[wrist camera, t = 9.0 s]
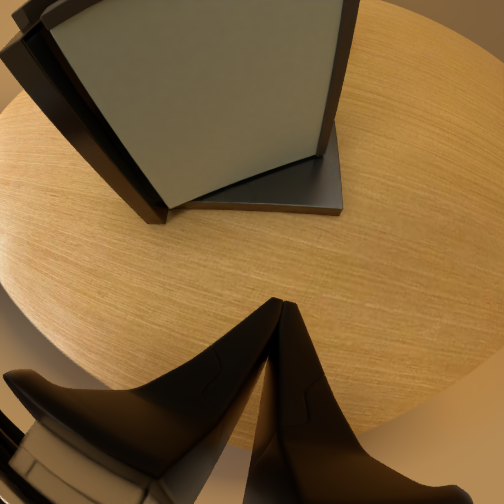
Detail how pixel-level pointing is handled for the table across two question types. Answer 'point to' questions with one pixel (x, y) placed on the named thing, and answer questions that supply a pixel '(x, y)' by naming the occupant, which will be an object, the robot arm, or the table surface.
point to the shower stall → (119, 159)
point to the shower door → (210, 81)
